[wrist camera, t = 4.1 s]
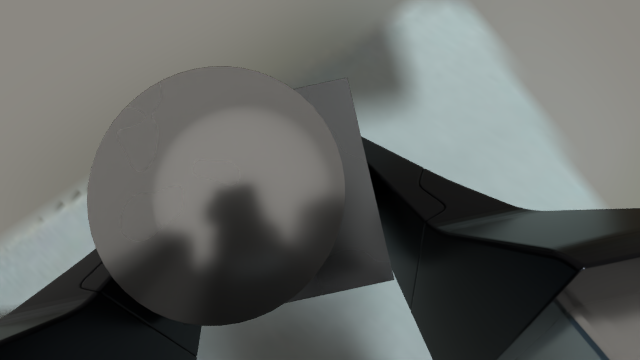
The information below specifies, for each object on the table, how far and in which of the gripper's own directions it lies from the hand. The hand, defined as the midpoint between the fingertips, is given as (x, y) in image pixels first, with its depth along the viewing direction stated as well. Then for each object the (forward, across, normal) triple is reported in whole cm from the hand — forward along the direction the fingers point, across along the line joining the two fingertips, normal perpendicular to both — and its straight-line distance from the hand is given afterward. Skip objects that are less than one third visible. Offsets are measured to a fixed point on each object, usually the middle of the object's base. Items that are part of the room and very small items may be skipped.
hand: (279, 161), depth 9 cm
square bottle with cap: (+4, 0, +6) cm, 7 cm away
